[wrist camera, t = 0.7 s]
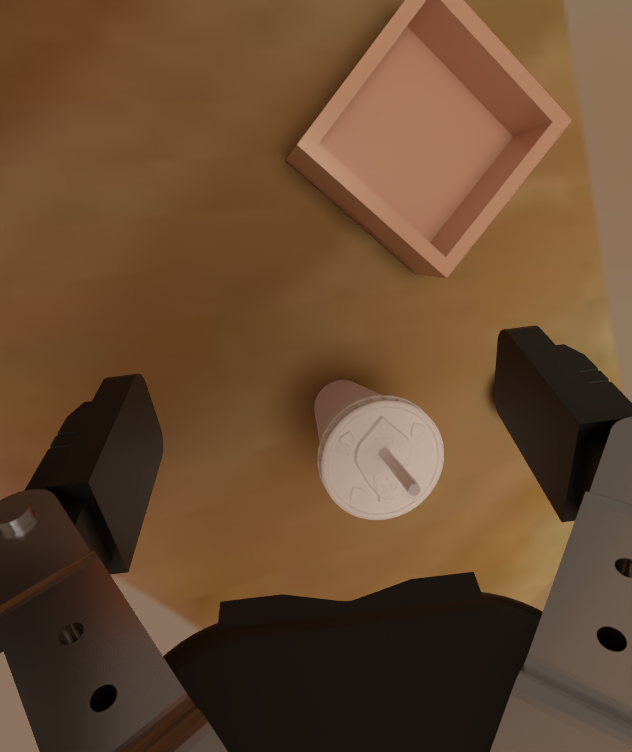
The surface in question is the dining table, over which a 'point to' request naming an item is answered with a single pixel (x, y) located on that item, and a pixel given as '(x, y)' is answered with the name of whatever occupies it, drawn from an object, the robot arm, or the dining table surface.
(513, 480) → the dining table surface
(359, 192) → the pink square tray
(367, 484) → the smoothie
